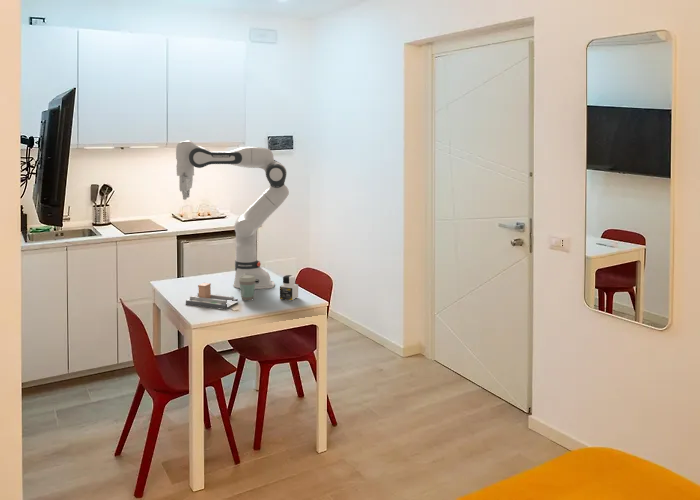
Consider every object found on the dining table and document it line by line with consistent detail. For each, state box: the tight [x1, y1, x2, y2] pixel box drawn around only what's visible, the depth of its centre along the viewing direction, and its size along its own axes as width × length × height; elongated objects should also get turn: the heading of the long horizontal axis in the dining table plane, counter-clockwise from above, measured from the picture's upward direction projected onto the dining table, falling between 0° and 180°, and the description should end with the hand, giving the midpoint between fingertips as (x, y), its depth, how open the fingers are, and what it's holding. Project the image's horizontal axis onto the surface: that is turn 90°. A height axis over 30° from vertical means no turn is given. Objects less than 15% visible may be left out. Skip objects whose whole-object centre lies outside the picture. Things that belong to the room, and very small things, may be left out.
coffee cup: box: [239, 275, 256, 301], centre depth 315 cm, size 8×8×12 cm
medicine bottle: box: [279, 274, 299, 301], centre depth 318 cm, size 7×7×12 cm
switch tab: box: [197, 282, 212, 298], centre depth 308 cm, size 4×5×7 cm
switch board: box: [185, 292, 239, 310], centre depth 308 cm, size 22×12×4 cm, turn 70°
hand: (186, 198), depth 330 cm, fingers open, 8 cm apart
